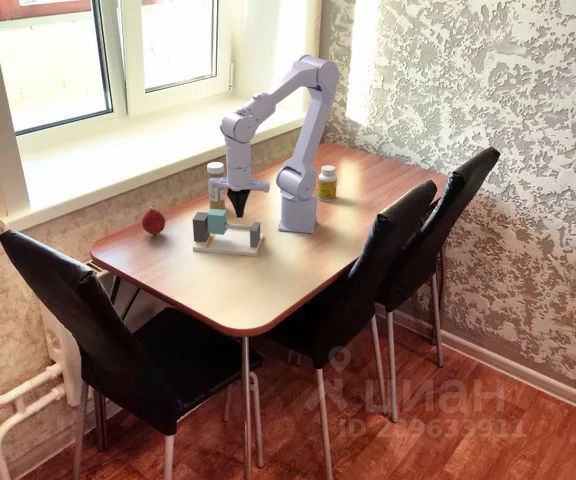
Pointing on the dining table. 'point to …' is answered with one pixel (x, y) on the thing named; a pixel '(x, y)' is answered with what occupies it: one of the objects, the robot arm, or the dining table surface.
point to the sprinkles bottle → (216, 193)
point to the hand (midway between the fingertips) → (240, 215)
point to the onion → (153, 221)
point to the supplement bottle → (327, 184)
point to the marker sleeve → (217, 221)
